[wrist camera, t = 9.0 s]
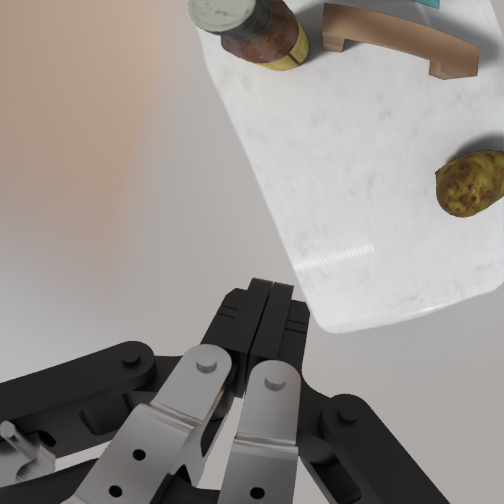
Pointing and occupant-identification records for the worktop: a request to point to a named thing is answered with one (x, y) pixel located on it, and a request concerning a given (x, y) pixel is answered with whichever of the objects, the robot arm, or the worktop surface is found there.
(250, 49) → the sauce bottle
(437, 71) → the bridge
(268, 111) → the worktop surface
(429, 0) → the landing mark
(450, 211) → the potato
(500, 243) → the worktop surface
